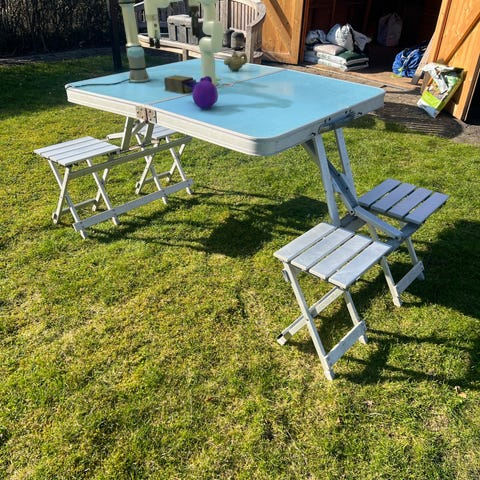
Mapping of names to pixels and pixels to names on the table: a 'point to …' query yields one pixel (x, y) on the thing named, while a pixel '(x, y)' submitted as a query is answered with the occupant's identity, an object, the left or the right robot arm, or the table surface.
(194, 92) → the toy
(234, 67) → the teapot
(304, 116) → the table surface
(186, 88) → the drawer
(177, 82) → the brown block
